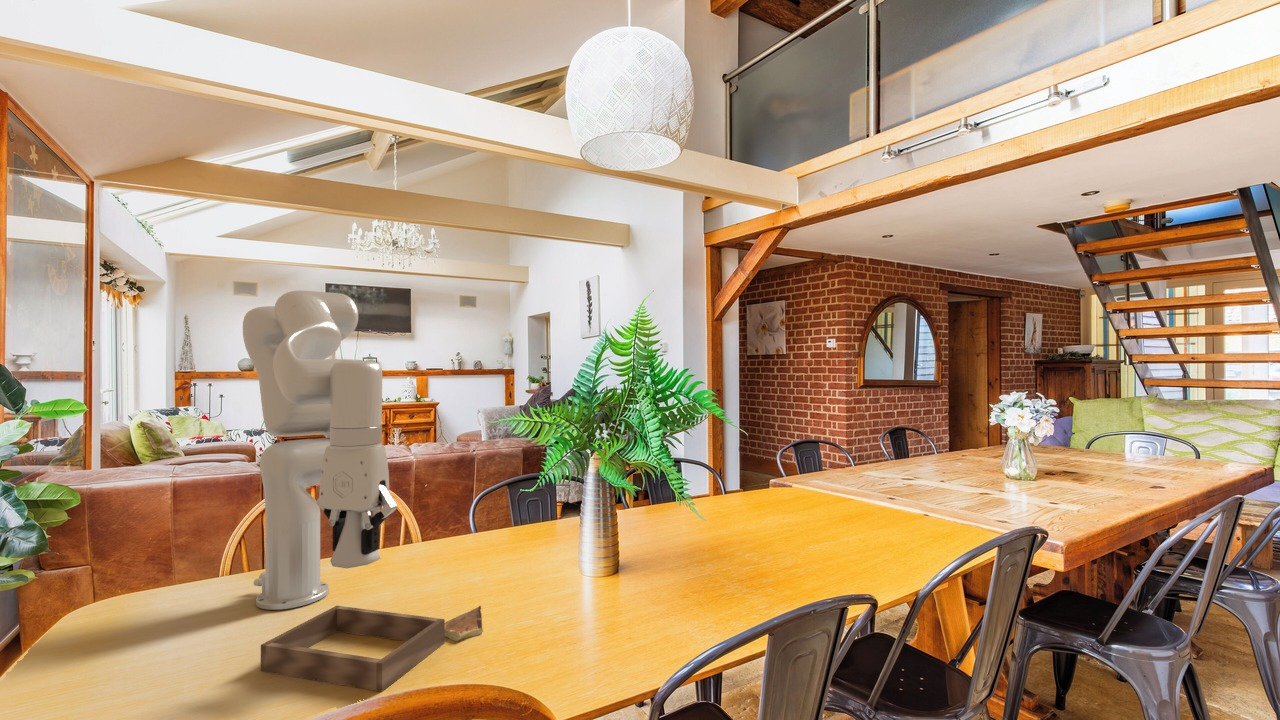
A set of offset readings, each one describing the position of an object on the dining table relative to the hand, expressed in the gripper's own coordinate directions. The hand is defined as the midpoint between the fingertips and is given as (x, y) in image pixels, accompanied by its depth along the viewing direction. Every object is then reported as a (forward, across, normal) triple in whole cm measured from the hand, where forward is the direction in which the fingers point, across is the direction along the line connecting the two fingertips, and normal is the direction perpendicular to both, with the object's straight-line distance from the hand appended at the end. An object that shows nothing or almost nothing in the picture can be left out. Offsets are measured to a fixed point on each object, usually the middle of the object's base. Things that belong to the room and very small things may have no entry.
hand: (355, 549), depth 93 cm
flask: (+2, 0, 0) cm, 2 cm away
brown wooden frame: (+17, +1, 0) cm, 17 cm away
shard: (+18, +11, +13) cm, 24 cm away
